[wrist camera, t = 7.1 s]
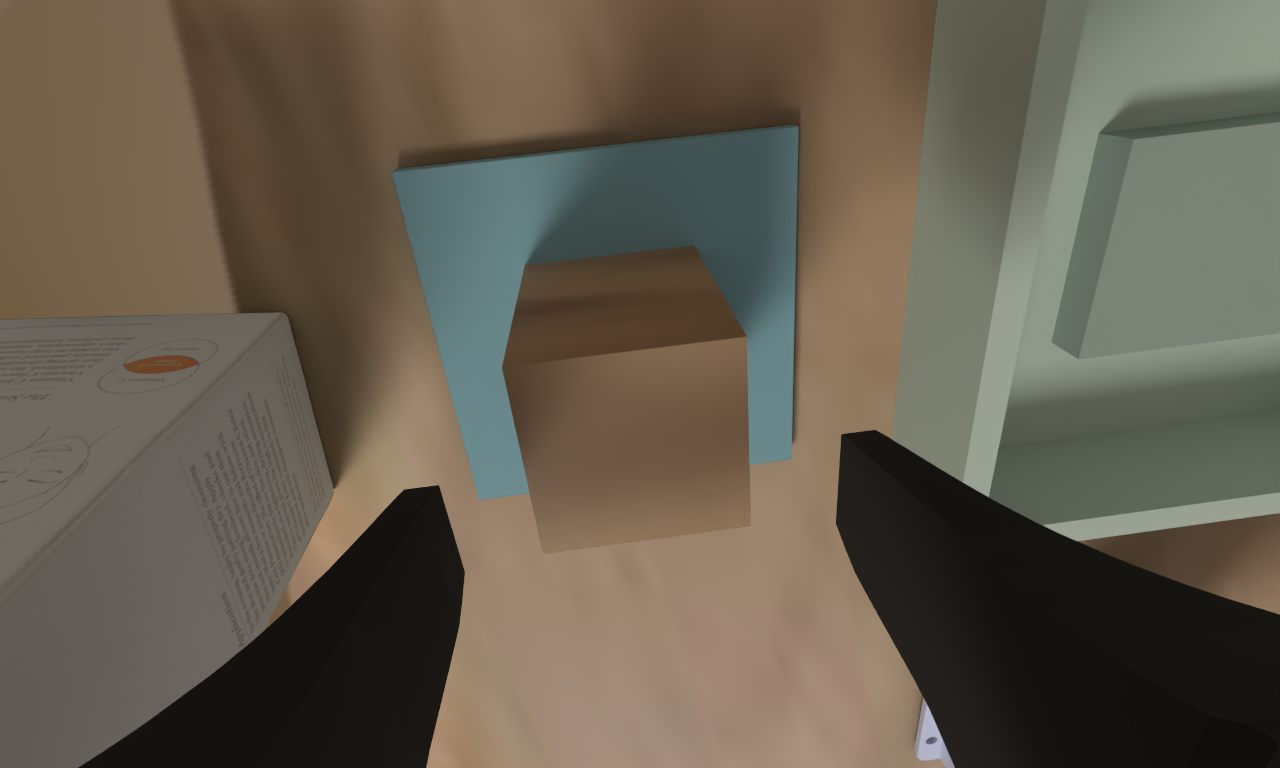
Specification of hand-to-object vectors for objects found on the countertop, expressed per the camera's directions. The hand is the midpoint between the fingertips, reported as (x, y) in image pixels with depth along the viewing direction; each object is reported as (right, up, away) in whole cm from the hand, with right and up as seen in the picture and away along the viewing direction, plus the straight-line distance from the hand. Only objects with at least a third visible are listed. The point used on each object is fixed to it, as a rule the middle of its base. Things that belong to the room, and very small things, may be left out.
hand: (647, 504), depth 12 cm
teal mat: (-1, +4, +7) cm, 8 cm away
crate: (+15, +7, +7) cm, 18 cm away
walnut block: (-1, +4, +6) cm, 7 cm away
